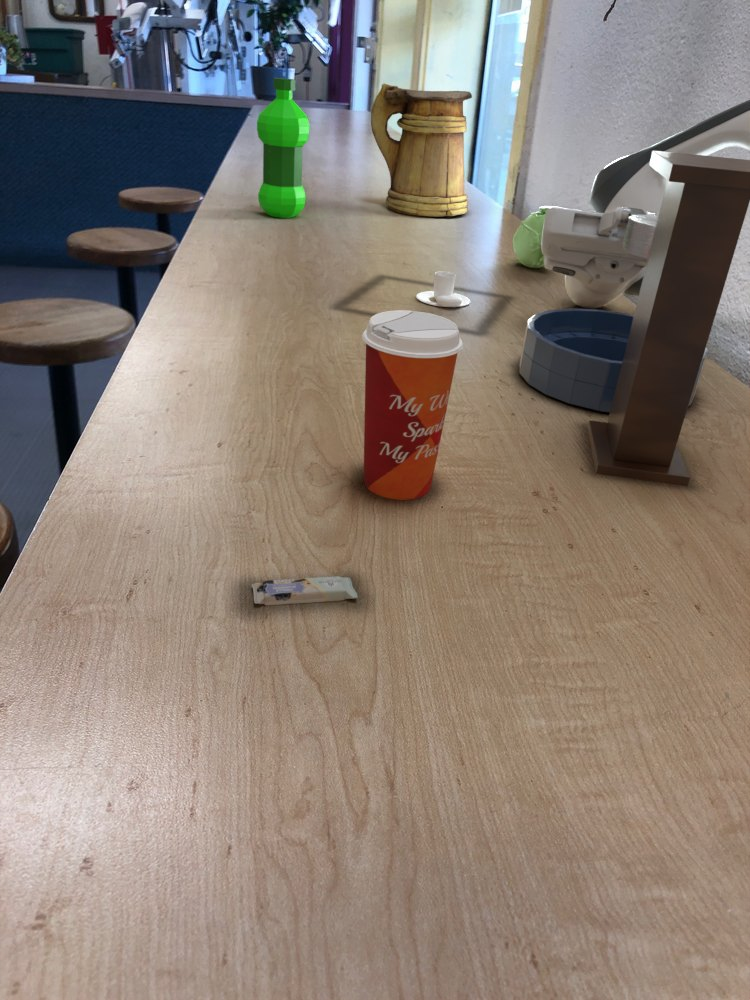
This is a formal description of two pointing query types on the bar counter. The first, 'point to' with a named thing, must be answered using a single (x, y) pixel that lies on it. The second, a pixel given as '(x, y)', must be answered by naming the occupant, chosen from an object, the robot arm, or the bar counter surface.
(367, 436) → the paper cup
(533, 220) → the green cabbage
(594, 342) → the bowl
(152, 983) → the bar counter surface
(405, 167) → the tankard
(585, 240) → the robot arm
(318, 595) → the granola bar
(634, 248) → the grey block
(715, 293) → the wooden post stand
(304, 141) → the plastic bottle
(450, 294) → the teacup and saucer
